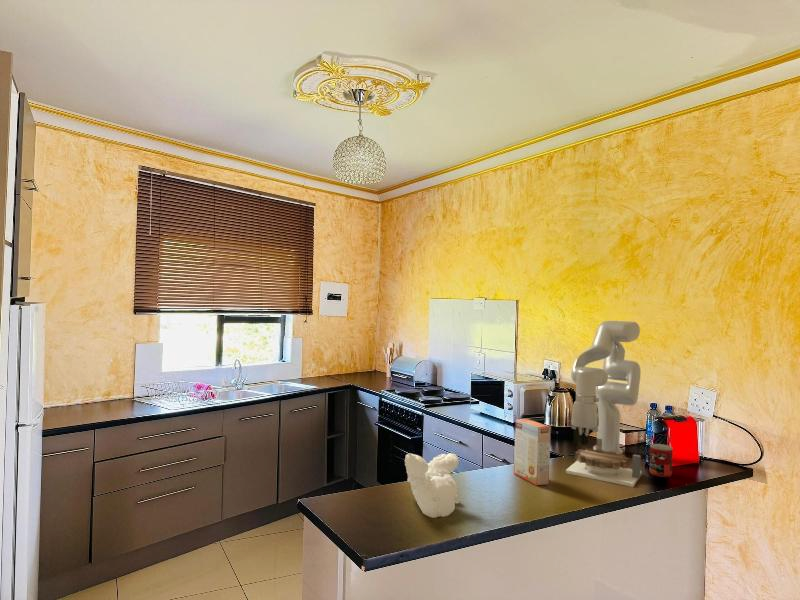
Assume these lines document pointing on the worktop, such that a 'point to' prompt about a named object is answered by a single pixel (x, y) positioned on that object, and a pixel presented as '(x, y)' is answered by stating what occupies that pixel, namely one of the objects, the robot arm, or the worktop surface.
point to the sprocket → (602, 457)
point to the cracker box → (532, 451)
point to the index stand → (609, 472)
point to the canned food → (661, 460)
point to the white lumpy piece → (433, 483)
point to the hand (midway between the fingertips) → (584, 444)
